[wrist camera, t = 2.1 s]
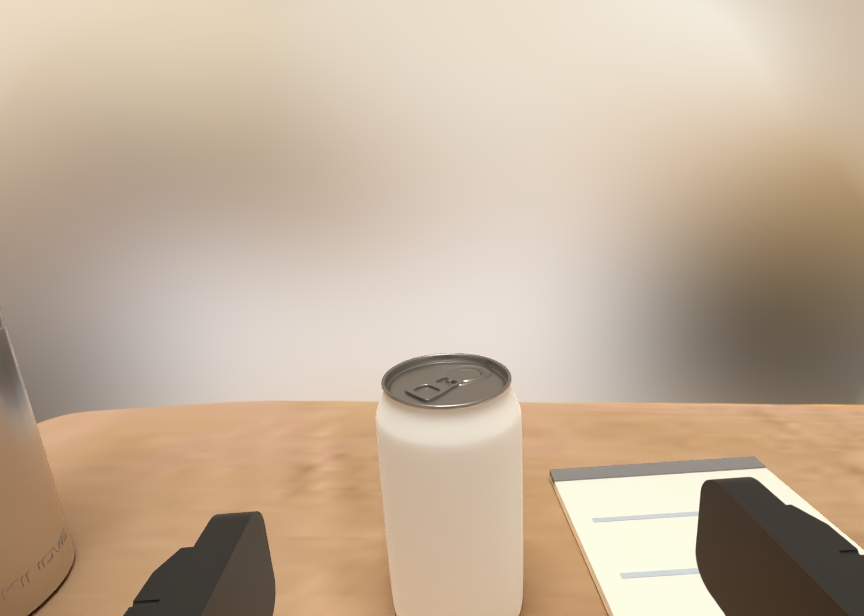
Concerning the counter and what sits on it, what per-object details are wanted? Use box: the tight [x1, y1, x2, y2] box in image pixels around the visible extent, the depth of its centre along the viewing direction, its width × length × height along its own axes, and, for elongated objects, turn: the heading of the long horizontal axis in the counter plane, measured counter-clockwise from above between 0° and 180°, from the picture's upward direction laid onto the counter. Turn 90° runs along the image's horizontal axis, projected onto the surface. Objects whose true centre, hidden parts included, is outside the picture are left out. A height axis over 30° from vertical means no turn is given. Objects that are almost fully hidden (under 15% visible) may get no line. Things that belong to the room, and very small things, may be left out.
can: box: [376, 353, 523, 616], centre depth 22 cm, size 6×6×12 cm
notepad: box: [550, 456, 864, 616], centre depth 24 cm, size 14×18×1 cm
